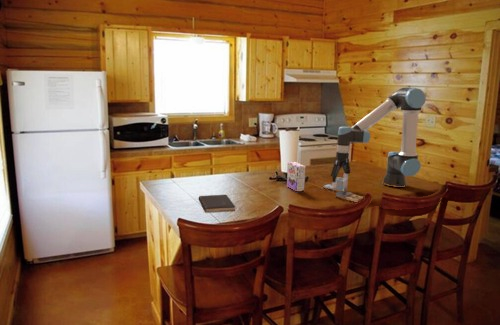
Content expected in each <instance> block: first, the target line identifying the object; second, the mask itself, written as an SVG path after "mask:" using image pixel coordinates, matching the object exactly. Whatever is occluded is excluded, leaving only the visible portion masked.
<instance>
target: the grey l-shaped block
mask: <svg viewBox="0 0 500 325" xmlns="http://www.w3.org/2000/svg"><path fill="white" fill-rule="evenodd" d="M344 179H345V178H343V177H338V176H337V186H336V188H335V187H332V184H330V183H329V184H325V185H323V187H324V188H328V189H333V190H337V191H342V190H343V180H344ZM346 180H347V185H348V183H349V182H348V180H349V178H348V179H346ZM323 187H322V188H323Z"/></svg>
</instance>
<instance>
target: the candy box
mask: <svg viewBox="0 0 500 325" xmlns="http://www.w3.org/2000/svg"><path fill="white" fill-rule="evenodd" d="M286 172H287V173H286V174H287V176H286V187H287V188H288V187H289V188H288V189H290V188H291V189H293V190H295V191H302V190H304V191H305V183H306V165H303V164H302V163H300V162H297V161H289V162H287V171H286ZM291 189H290V190H291ZM293 190H292V191H293ZM295 191H294V192H295Z"/></svg>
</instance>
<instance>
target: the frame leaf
mask: <svg viewBox="0 0 500 325" xmlns="http://www.w3.org/2000/svg"><path fill="white" fill-rule="evenodd" d="M363 197H364V196H362V195H359V194H354V193H353V194H352V195H351V196H348V197H346V199H347V200H351V201H354V202H358V201H359V200H360V199H362V198H363Z"/></svg>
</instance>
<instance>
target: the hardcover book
mask: <svg viewBox="0 0 500 325" xmlns="http://www.w3.org/2000/svg"><path fill="white" fill-rule="evenodd" d="M198 201H199V203H200V204H201V206H202V209H203V210H204V212H218V211H219V212H221V211H235V210H236V209H235V208H236V205H235V204H234V203H233V202H232V200H231V198H230V197H229V196H228V195H227V194H211V195H209V194H208V195H199V196H198Z"/></svg>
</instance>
